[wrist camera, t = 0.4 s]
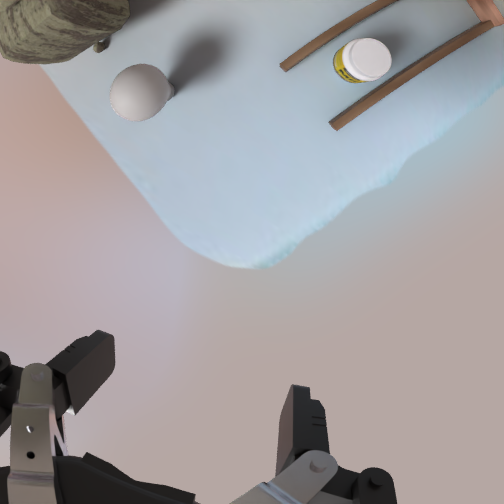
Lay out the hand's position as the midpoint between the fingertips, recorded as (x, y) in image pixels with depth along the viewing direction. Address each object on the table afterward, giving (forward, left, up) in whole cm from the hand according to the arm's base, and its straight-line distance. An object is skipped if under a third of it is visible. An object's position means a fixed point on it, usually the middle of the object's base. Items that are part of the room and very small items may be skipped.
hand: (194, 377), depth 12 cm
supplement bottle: (-4, +19, -29) cm, 35 cm away
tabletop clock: (-32, +3, -29) cm, 43 cm away
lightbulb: (-16, 0, -29) cm, 33 cm away
